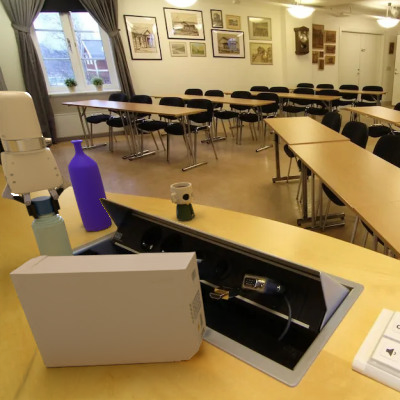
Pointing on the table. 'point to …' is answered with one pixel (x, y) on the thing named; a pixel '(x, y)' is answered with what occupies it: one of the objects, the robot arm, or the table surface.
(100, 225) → the bottle
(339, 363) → the table surface
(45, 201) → the cap
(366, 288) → the table surface
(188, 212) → the character mug
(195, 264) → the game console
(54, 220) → the water bottle
